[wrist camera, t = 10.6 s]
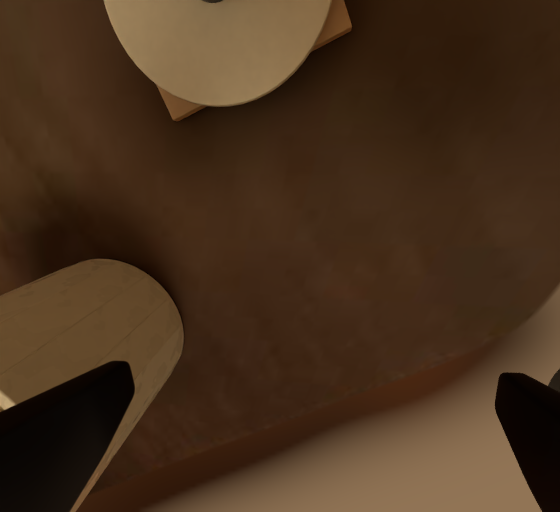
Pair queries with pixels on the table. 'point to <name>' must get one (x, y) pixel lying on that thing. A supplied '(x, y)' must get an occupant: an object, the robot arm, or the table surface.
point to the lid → (218, 44)
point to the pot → (88, 336)
